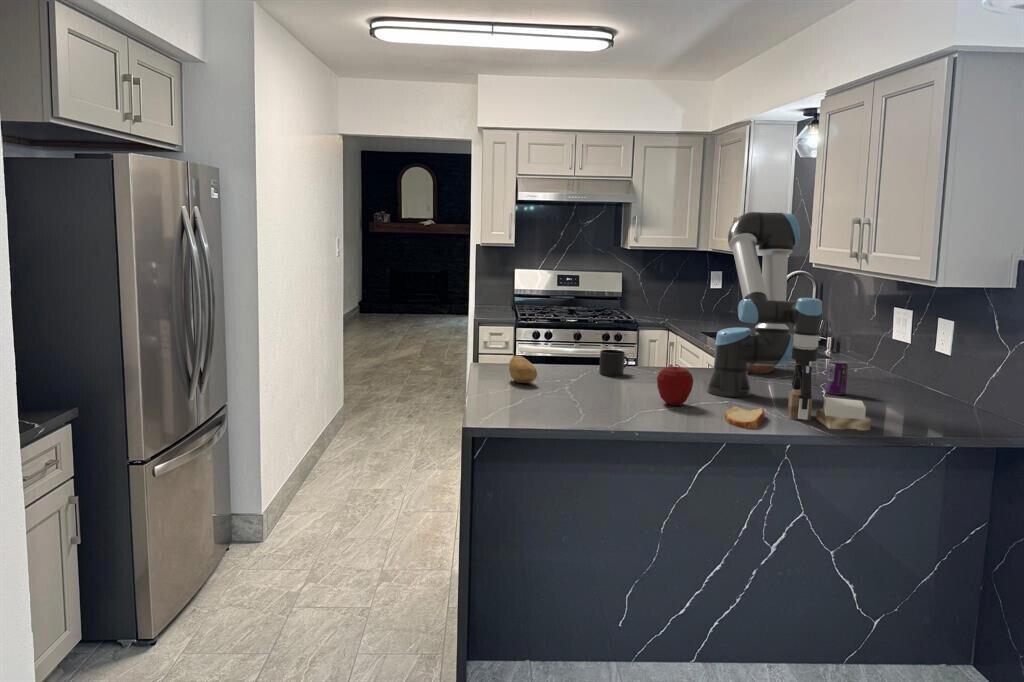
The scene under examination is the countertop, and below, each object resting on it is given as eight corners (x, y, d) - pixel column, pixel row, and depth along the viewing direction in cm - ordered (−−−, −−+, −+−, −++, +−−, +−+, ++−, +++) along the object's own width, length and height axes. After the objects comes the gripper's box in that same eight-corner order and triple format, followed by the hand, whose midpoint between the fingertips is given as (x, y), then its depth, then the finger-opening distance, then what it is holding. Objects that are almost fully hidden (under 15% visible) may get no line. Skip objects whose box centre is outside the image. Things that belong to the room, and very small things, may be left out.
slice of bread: (744, 431, 236) (746, 418, 235) (705, 416, 252) (706, 405, 251) (790, 426, 244) (791, 414, 243) (749, 412, 260) (750, 401, 259)
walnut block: (790, 419, 251) (792, 394, 250) (787, 414, 257) (789, 390, 256) (810, 420, 250) (812, 395, 249) (806, 416, 256) (809, 391, 255)
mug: (633, 376, 312) (634, 353, 311) (605, 376, 308) (607, 353, 307) (622, 371, 321) (623, 349, 320) (595, 372, 317) (596, 349, 316)
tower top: (825, 415, 243) (826, 404, 242) (823, 407, 253) (824, 397, 252) (864, 419, 239) (865, 408, 239) (860, 411, 250) (861, 400, 249)
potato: (516, 387, 282) (517, 361, 281) (504, 379, 297) (504, 354, 296) (539, 387, 285) (540, 361, 284) (526, 378, 300) (527, 353, 298)
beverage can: (847, 396, 289) (850, 363, 287) (826, 394, 290) (829, 362, 289) (843, 392, 296) (846, 360, 294) (823, 390, 297) (826, 359, 295)
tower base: (829, 430, 241) (830, 417, 240) (815, 420, 253) (817, 408, 252) (869, 432, 241) (871, 419, 240) (854, 422, 253) (855, 410, 252)
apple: (648, 401, 268) (650, 362, 266) (677, 399, 273) (680, 361, 271) (668, 409, 258) (671, 369, 255) (698, 407, 262) (701, 367, 260)
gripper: (825, 354, 238) (819, 424, 241) (810, 342, 262) (804, 406, 265) (799, 352, 239) (793, 422, 242) (786, 341, 263) (780, 404, 266)
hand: (798, 414), depth 254 cm, fingers open, 12 cm apart
